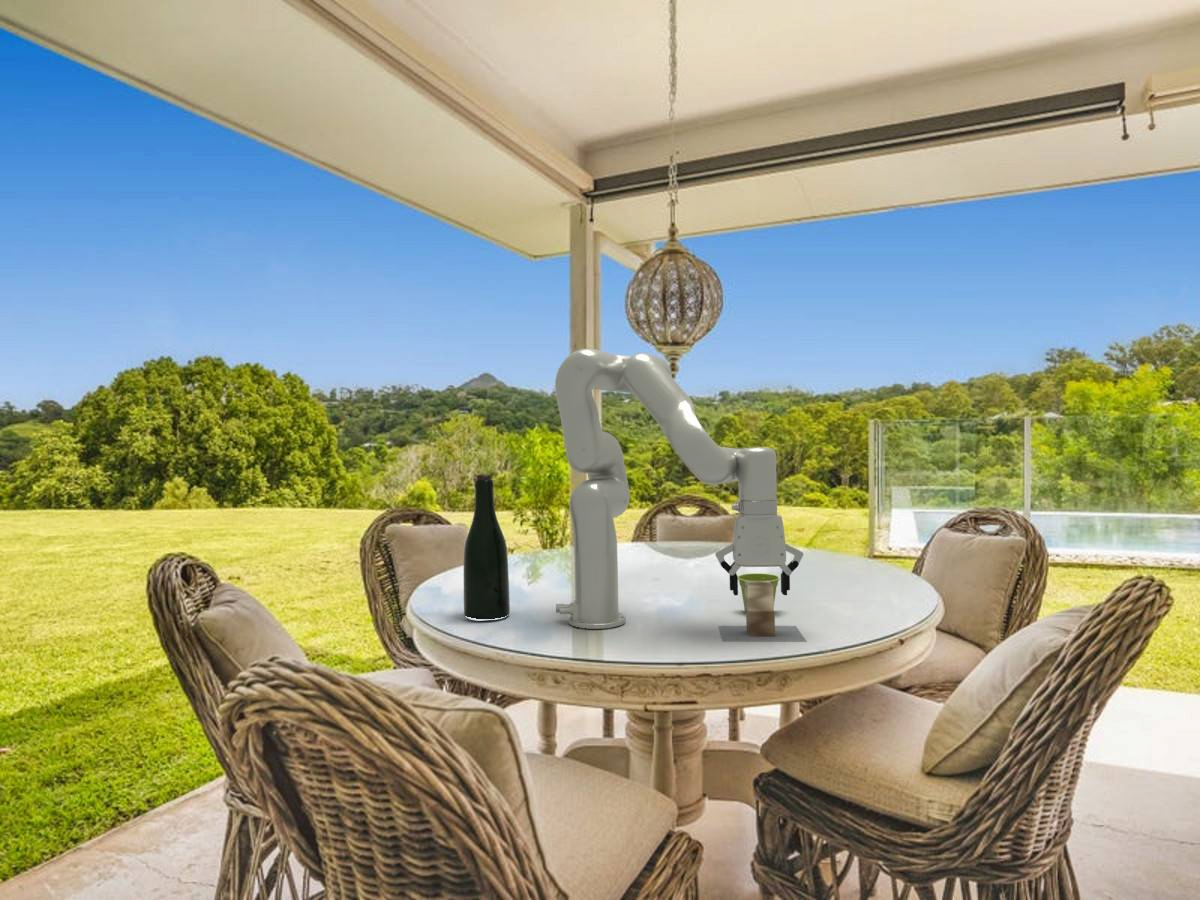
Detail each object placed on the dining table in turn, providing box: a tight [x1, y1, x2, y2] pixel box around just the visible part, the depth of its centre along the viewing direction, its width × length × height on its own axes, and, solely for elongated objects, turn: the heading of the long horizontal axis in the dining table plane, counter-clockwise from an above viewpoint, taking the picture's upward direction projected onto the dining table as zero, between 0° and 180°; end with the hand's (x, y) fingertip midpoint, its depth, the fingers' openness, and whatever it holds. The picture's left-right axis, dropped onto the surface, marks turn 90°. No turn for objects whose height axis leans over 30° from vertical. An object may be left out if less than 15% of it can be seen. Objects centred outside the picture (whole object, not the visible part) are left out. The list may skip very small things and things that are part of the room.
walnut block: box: [745, 608, 776, 637], centre depth 145 cm, size 5×5×5 cm
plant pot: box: [737, 572, 781, 614], centre depth 162 cm, size 9×9×9 cm
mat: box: [718, 625, 808, 643], centre depth 145 cm, size 16×12×1 cm
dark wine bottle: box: [463, 473, 511, 619], centre depth 166 cm, size 10×10×33 cm
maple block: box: [745, 581, 775, 611], centre depth 145 cm, size 5×5×5 cm
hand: (759, 594), depth 145 cm, fingers open, 9 cm apart
